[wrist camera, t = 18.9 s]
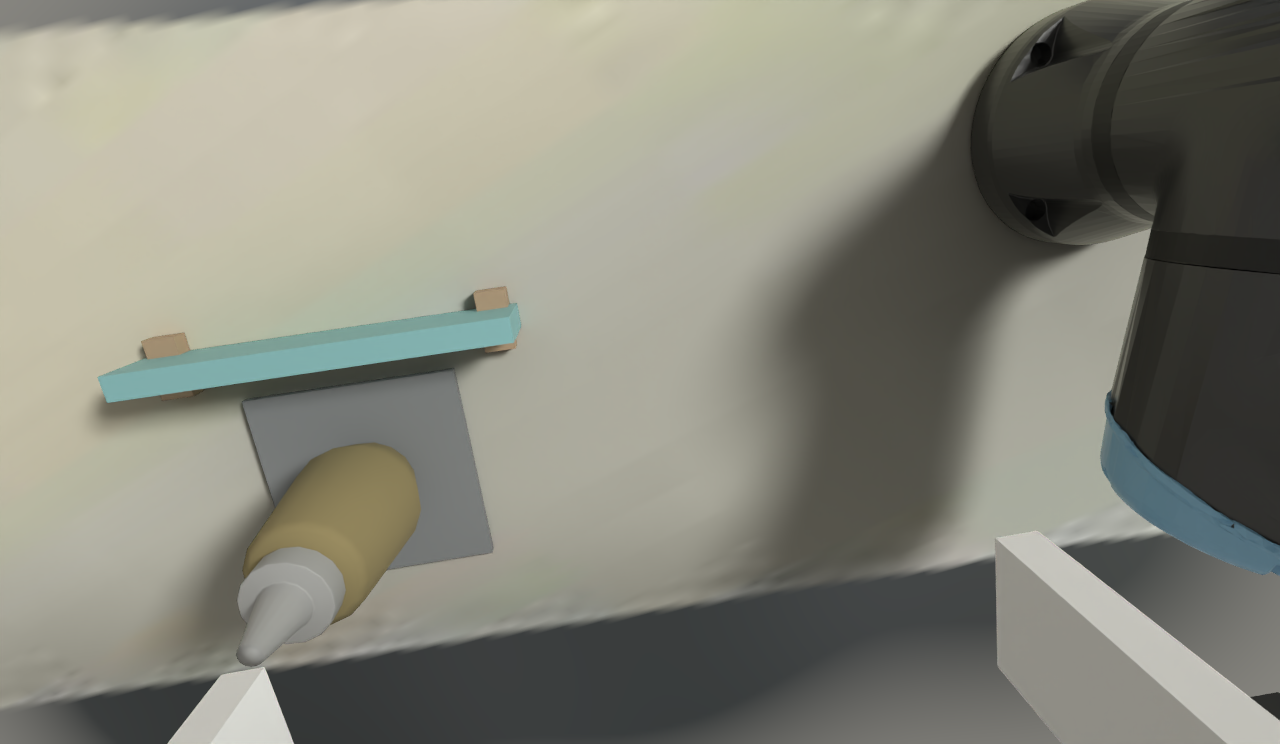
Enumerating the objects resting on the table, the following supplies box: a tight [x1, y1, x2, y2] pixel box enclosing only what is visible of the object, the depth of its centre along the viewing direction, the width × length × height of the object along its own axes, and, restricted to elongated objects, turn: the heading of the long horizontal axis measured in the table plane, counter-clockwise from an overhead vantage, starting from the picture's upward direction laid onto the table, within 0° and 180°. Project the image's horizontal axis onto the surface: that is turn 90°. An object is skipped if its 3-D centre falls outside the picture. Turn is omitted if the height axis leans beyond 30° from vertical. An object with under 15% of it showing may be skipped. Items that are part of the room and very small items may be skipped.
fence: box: [98, 286, 521, 403], centre depth 42 cm, size 4×24×5 cm, turn 98°
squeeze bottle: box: [236, 442, 421, 667], centre depth 38 cm, size 8×8×18 cm
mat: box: [242, 368, 493, 569], centre depth 46 cm, size 14×14×1 cm
